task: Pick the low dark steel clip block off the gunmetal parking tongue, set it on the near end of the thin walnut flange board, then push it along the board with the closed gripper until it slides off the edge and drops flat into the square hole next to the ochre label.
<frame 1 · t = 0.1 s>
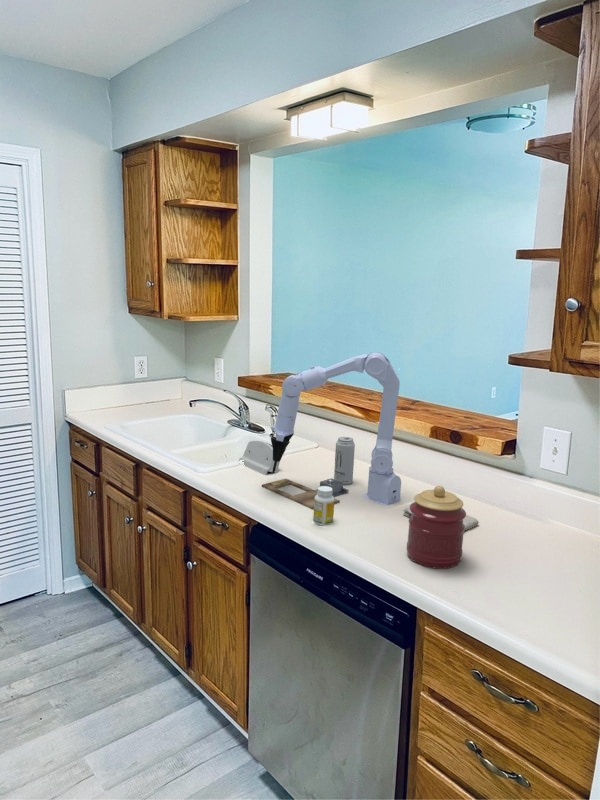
hand: (278, 457, 178), 11 cm above the worktop, tool pointing down, fingers open, 7 cm apart
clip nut: (331, 491, 179), point 1 cm above the worktop, touching parking tongue
canister: (433, 557, 139), on the worktop
parking tongue: (331, 493, 179), on the worktop
flange board: (299, 496, 175), on the worktop
hinge: (260, 468, 202), on the worktop
energy drink can: (343, 484, 188), on the worktop
washcloth: (439, 522, 161), on the worktop
supplement bottle: (323, 523, 157), on the worktop
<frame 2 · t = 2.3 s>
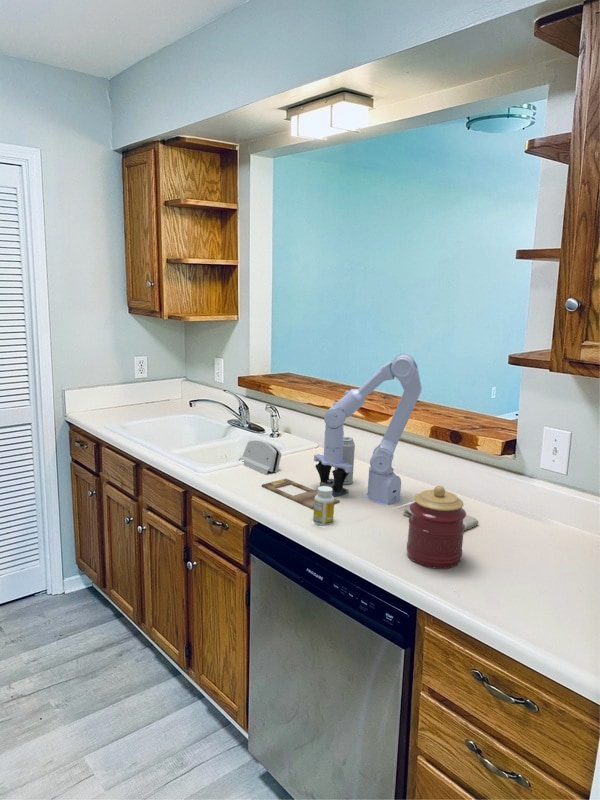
hand: (331, 489, 178), 1 cm above the worktop, tool pointing down, fingers closed on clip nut, 5 cm apart
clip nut: (331, 491, 179), point 1 cm above the worktop, touching gripper, parking tongue
everything else where it was.
when the fingers open (3 cm above the worktop, at t = 5.4 s): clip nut stays where it is, resting on flange board.
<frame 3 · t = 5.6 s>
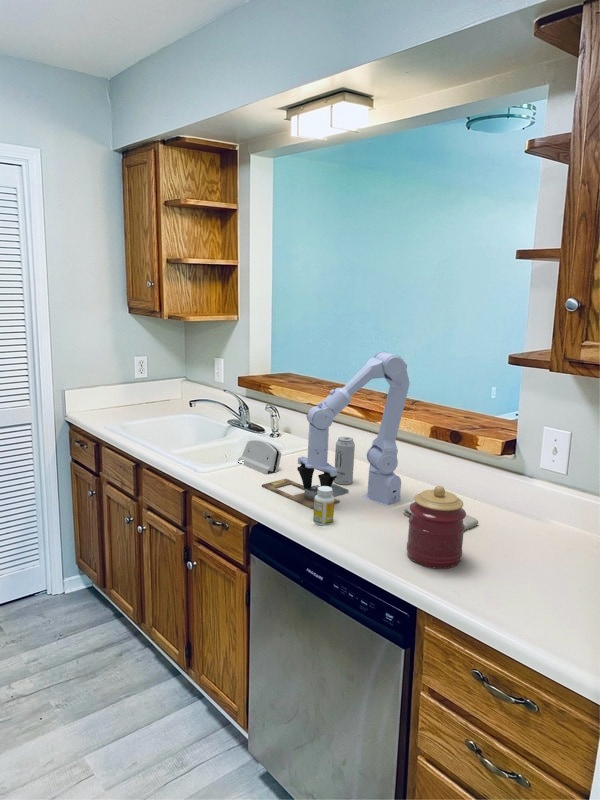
hand: (315, 493, 170), 3 cm above the worktop, tool pointing down, fingers open, 7 cm apart
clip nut: (316, 499, 170), point 1 cm above the worktop, touching flange board
everything else where it was.
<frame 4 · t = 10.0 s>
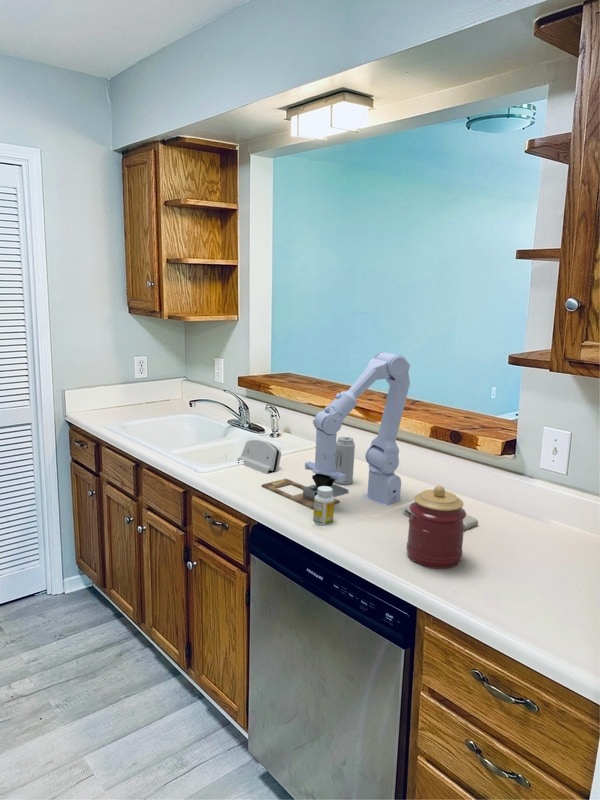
hand: (323, 499, 168), 2 cm above the worktop, tool pointing down, fingers closed
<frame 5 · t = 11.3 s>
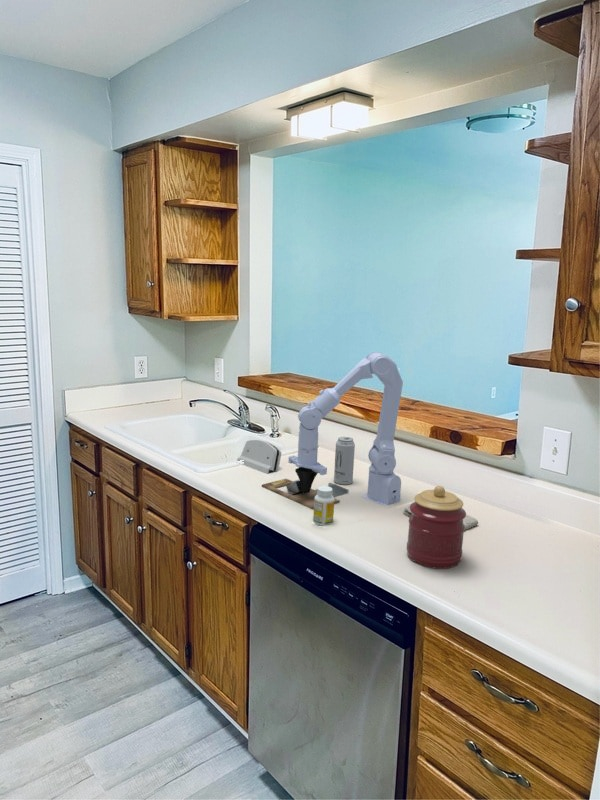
hand: (306, 491, 173), 2 cm above the worktop, tool pointing down, fingers closed
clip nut: (300, 491, 175), point 1 cm above the worktop, tilted 30°, touching gripper
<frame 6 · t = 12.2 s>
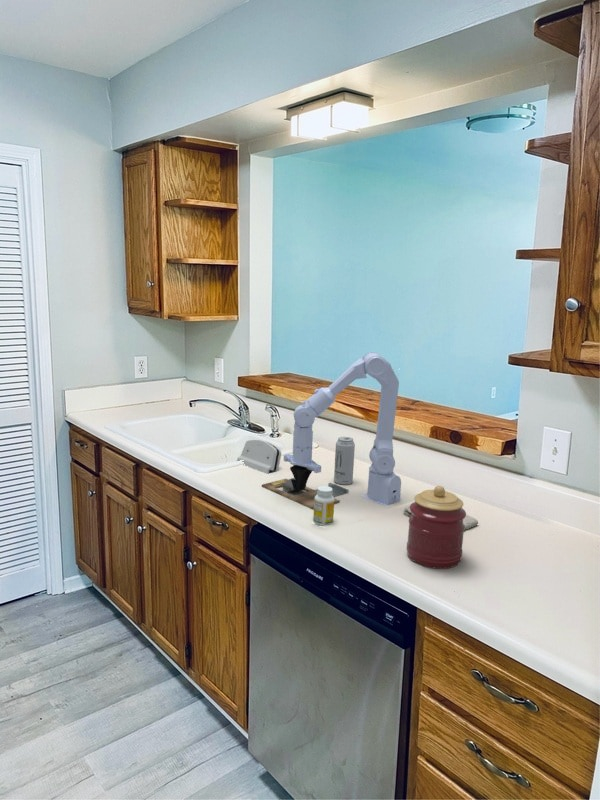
hand: (300, 489, 174), 2 cm above the worktop, tool pointing down, fingers closed
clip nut: (295, 489, 177), point 1 cm above the worktop, tilted 29°, touching gripper
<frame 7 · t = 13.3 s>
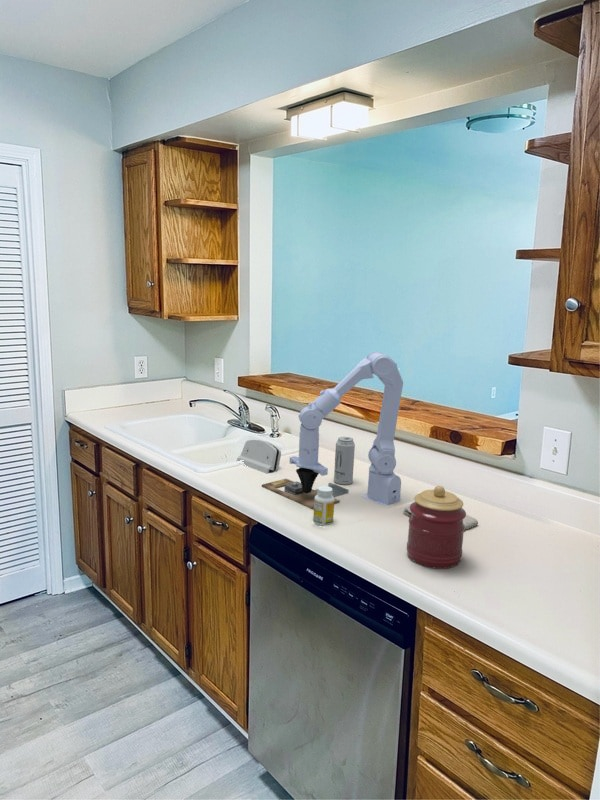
hand: (307, 492, 173), 2 cm above the worktop, tool pointing down, fingers closed
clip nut: (295, 494, 177), resting in flange board
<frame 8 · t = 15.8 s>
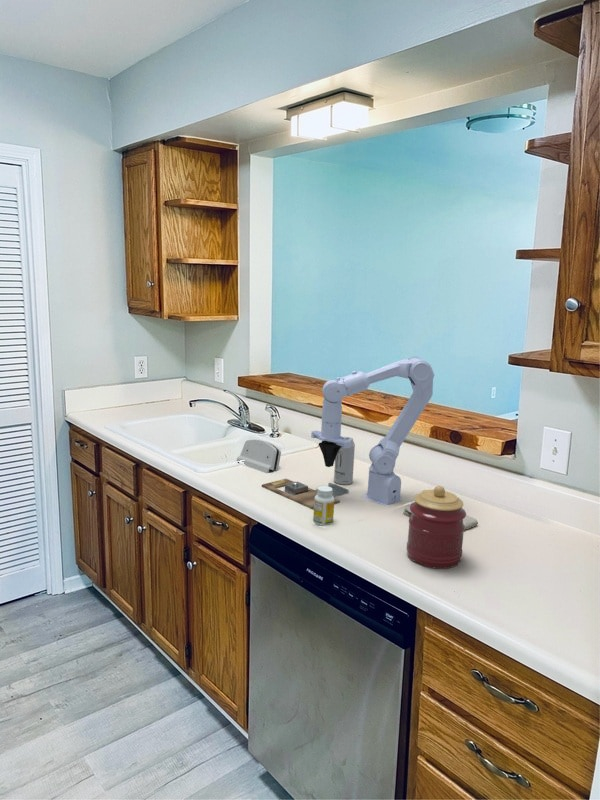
hand: (329, 466, 173), 10 cm above the worktop, tool pointing down, fingers closed
at the end: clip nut inside the target area (2.1 cm from its centre), resting in flange board; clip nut tilted 0° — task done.
